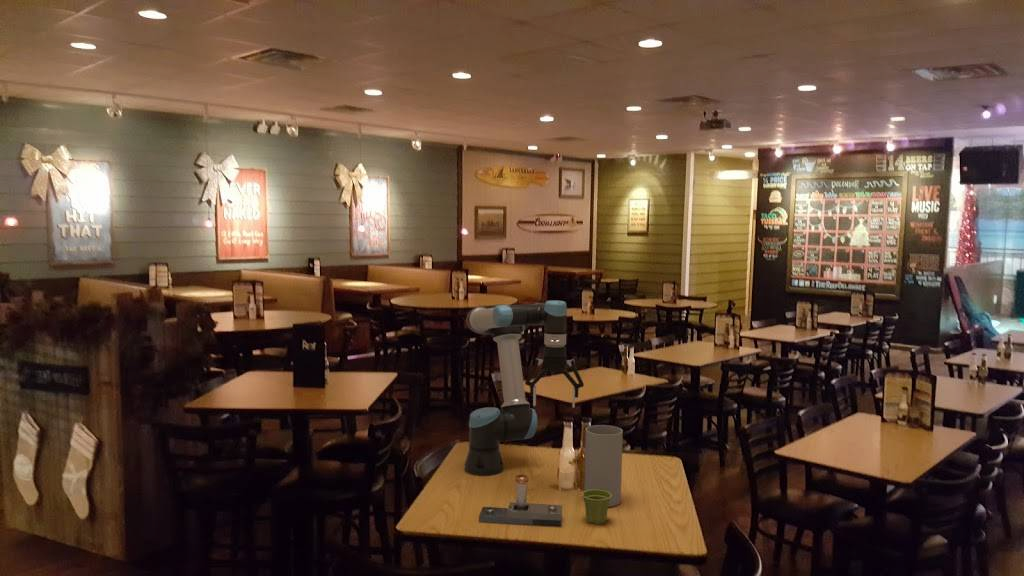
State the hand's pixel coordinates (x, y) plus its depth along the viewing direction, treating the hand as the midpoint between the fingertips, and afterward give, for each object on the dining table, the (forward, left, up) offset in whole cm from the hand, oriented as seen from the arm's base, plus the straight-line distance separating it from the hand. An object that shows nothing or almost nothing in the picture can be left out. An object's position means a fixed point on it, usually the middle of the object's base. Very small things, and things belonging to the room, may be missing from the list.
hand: (553, 406), depth 257 cm
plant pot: (+26, -2, -32) cm, 41 cm away
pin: (+12, -22, -32) cm, 41 cm away
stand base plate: (+12, -22, -32) cm, 41 cm away
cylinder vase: (+14, +11, -32) cm, 37 cm away
